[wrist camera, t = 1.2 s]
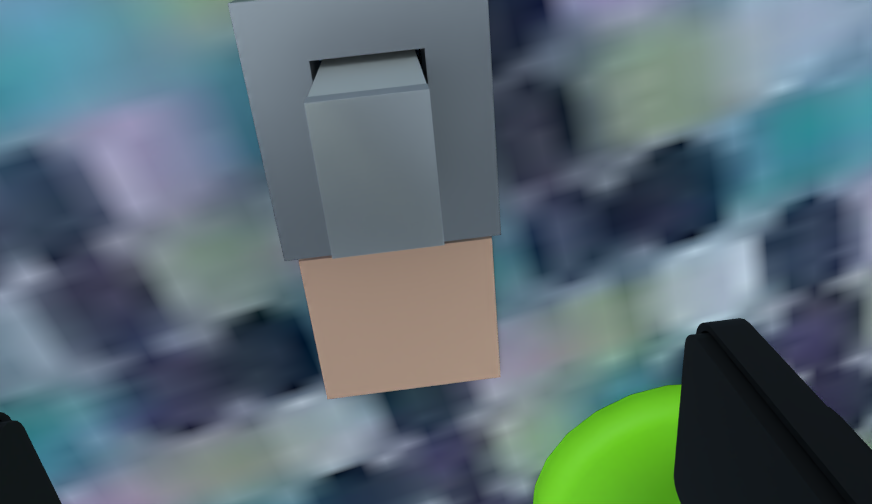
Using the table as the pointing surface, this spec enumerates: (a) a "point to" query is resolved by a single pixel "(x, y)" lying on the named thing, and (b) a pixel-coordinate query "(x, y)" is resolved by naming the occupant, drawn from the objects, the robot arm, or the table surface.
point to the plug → (375, 154)
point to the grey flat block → (360, 35)
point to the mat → (404, 317)
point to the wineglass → (617, 454)
